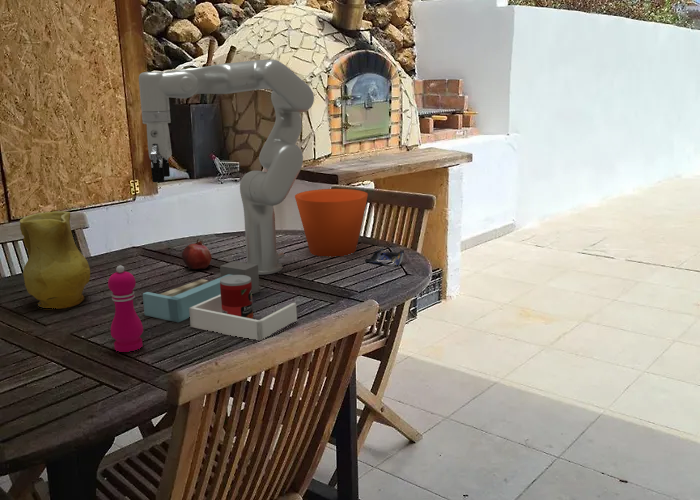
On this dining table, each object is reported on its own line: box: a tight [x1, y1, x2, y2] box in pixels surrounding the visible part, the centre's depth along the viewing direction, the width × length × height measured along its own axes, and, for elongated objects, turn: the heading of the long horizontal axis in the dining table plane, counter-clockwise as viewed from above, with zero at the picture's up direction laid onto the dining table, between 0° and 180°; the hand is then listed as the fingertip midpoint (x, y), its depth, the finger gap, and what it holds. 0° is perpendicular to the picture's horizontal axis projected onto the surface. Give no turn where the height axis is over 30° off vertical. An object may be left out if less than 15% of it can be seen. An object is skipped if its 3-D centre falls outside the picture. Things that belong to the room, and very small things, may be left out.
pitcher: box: [19, 210, 91, 310], centre depth 194 cm, size 17×19×25 cm
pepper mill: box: [107, 265, 144, 353], centre depth 161 cm, size 7×7×20 cm
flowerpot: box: [294, 188, 369, 258], centre depth 243 cm, size 25×25×20 cm
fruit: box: [181, 238, 213, 271], centre depth 226 cm, size 9×10×10 cm
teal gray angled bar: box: [142, 260, 260, 323], centre depth 193 cm, size 30×15×8 cm, turn 150°
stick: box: [160, 278, 209, 297], centre depth 200 cm, size 18×3×3 cm, turn 146°
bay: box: [189, 294, 298, 340], centre depth 176 cm, size 15×22×5 cm
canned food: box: [220, 275, 254, 319], centre depth 179 cm, size 8×8×11 cm
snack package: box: [364, 248, 405, 267], centre depth 229 cm, size 12×6×12 cm
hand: (161, 179), depth 198 cm, fingers open, 9 cm apart
